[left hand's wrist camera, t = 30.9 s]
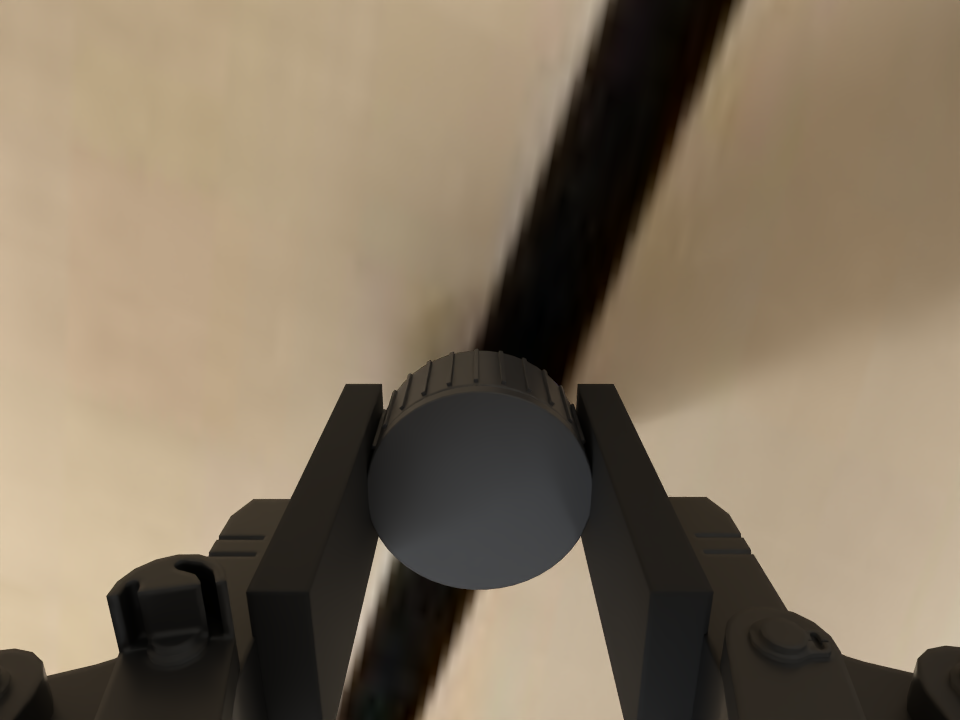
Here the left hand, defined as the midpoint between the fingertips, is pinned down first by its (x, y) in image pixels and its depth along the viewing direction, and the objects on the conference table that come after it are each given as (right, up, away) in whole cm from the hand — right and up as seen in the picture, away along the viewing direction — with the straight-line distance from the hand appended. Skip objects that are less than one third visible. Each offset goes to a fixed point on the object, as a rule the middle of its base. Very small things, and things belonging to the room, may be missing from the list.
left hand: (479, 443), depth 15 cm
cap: (0, -1, -2) cm, 2 cm away
